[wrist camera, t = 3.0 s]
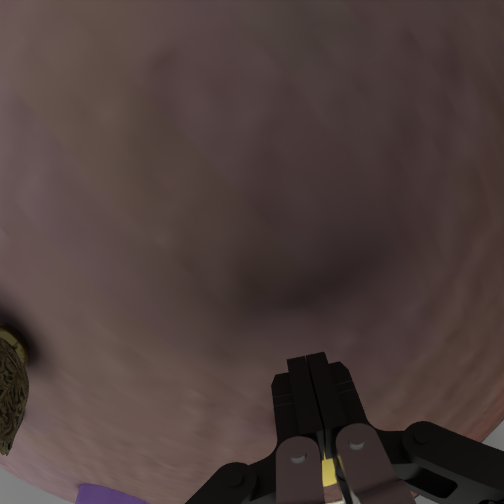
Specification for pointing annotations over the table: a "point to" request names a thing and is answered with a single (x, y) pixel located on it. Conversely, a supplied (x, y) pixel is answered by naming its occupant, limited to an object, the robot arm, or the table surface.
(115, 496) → the masking tape
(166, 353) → the table surface
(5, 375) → the cup
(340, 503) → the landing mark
